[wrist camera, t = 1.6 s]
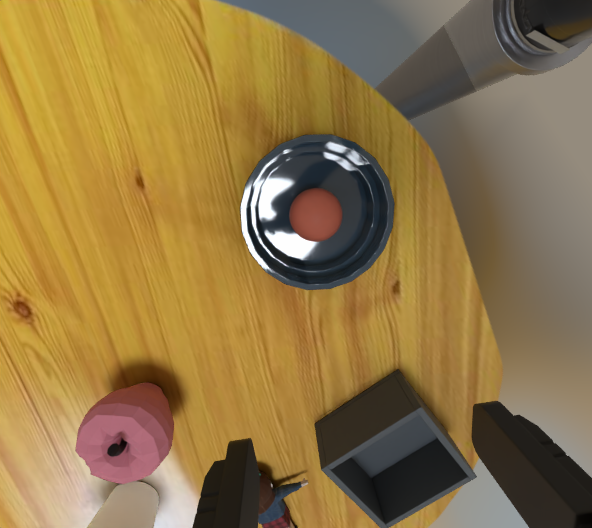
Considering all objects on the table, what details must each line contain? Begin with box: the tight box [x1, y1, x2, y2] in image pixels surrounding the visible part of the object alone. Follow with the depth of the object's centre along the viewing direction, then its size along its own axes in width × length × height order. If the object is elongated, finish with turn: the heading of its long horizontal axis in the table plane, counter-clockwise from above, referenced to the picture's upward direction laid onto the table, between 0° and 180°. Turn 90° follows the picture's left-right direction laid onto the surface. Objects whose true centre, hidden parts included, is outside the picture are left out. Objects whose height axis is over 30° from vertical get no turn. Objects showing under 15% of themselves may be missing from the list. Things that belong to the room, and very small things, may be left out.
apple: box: [76, 382, 174, 484], centre depth 33 cm, size 10×9×10 cm
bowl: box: [240, 134, 394, 290], centre depth 30 cm, size 14×14×5 cm
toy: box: [258, 471, 308, 528], centre depth 42 cm, size 14×5×15 cm
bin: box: [315, 370, 477, 528], centre depth 38 cm, size 14×14×7 cm
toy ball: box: [289, 188, 342, 242], centre depth 29 cm, size 5×5×5 cm
